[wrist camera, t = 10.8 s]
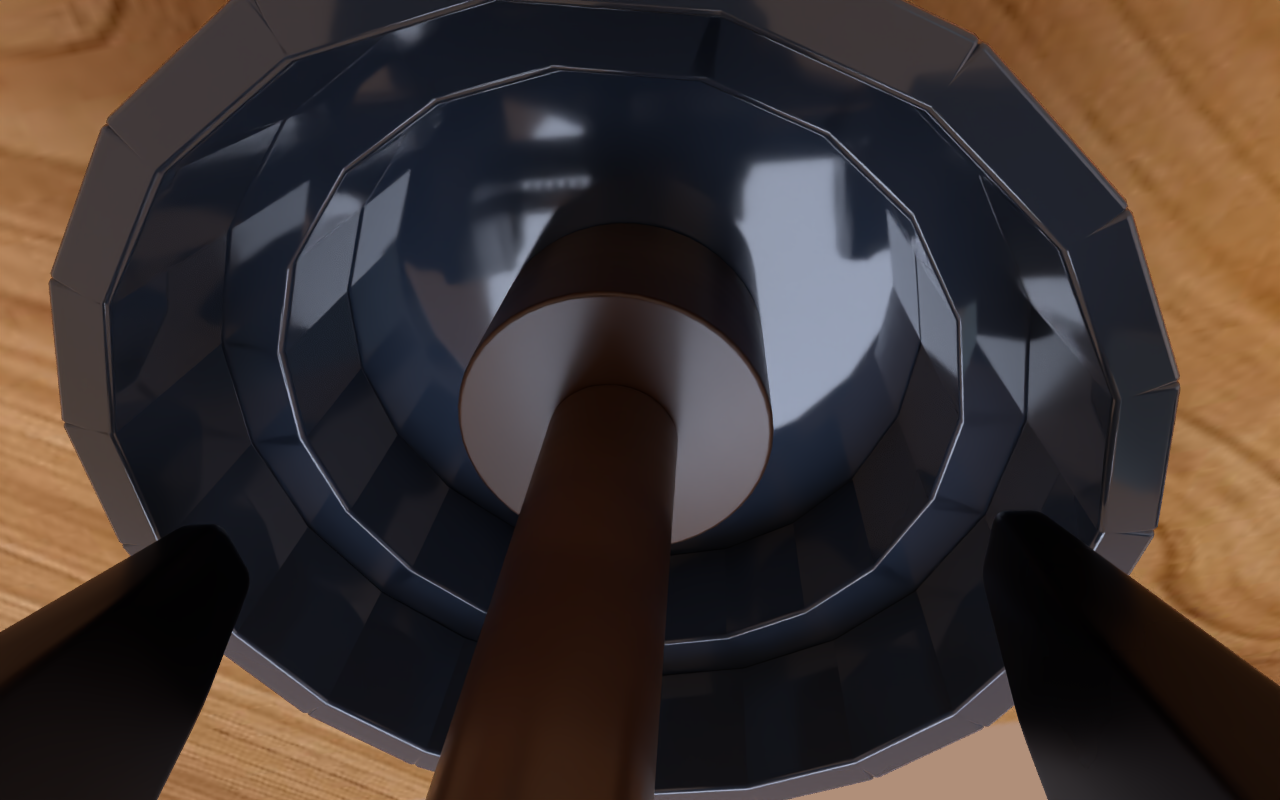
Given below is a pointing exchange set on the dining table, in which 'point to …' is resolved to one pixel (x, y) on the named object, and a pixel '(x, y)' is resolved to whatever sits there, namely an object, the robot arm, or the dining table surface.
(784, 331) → the bowl
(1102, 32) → the dining table surface
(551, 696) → the peg on round base
